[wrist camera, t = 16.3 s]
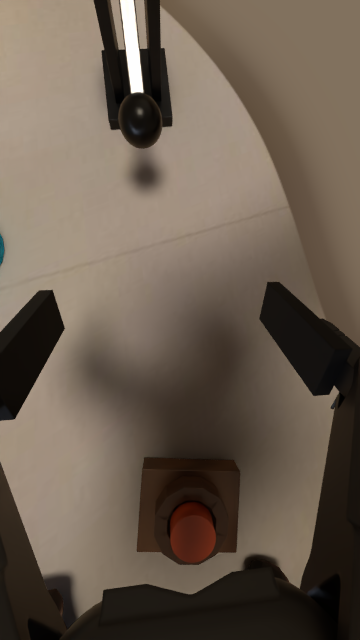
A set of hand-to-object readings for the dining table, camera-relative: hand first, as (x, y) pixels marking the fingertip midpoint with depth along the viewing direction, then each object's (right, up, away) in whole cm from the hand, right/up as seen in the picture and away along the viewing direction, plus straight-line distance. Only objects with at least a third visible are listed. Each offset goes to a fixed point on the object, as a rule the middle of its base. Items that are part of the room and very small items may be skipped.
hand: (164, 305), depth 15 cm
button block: (+2, -20, +11) cm, 23 cm away
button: (+2, -20, +7) cm, 21 cm away
